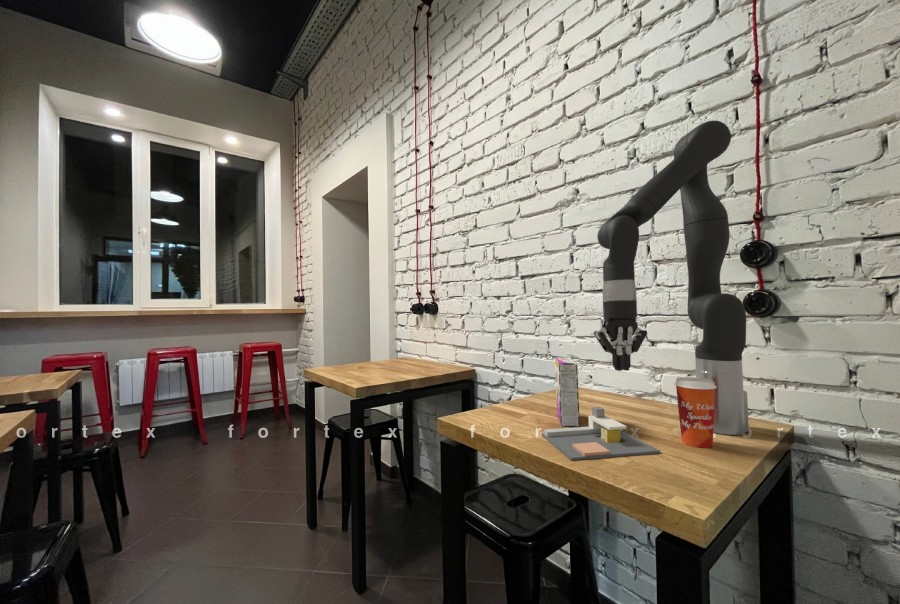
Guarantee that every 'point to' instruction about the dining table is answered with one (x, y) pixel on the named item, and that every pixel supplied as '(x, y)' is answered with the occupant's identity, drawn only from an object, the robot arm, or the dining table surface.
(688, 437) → the paper cup
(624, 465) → the dining table surface
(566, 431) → the puzzle board
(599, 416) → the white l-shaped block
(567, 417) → the candy bar box
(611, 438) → the alphabet block
